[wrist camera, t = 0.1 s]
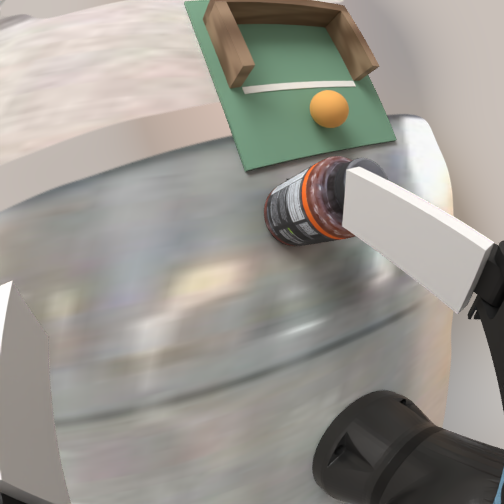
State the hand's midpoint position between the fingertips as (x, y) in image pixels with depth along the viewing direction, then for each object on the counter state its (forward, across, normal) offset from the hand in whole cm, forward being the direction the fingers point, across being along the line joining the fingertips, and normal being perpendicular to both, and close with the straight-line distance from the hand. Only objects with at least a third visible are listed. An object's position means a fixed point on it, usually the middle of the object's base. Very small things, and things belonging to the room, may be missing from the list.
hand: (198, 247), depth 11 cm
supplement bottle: (+13, -12, +9) cm, 20 cm away
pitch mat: (+22, -20, -4) cm, 30 cm away
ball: (+17, -19, +1) cm, 26 cm away
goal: (+23, -19, -6) cm, 30 cm away
